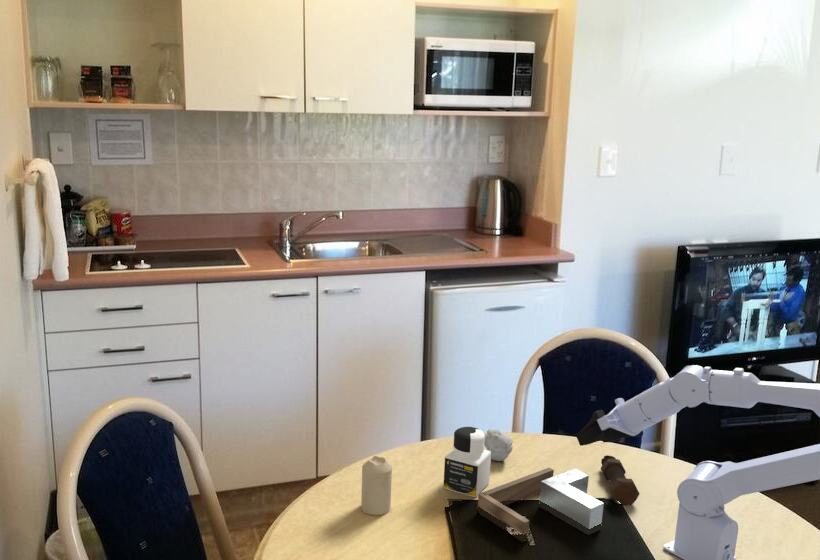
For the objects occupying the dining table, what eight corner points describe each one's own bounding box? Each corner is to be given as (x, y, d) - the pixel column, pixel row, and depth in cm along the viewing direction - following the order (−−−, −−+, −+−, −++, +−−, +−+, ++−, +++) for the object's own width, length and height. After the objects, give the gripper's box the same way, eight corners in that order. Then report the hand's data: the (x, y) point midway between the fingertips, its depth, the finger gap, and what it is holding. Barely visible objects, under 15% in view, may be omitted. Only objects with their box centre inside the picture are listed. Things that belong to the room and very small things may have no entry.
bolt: (610, 477, 164) (627, 512, 150) (590, 465, 164) (605, 499, 149) (626, 456, 163) (644, 488, 149) (606, 444, 163) (622, 475, 148)
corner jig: (594, 511, 147) (596, 492, 146) (523, 543, 135) (524, 522, 134) (547, 485, 156) (549, 467, 155) (477, 513, 145) (478, 493, 144)
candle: (364, 517, 142) (365, 467, 139) (358, 502, 147) (359, 454, 145) (393, 514, 143) (395, 464, 141) (386, 499, 148) (388, 451, 146)
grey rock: (476, 455, 168) (478, 425, 166) (506, 452, 170) (508, 423, 168) (486, 468, 162) (488, 437, 161) (516, 465, 164) (519, 434, 163)
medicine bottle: (442, 488, 153) (445, 433, 150) (457, 474, 159) (460, 420, 156) (475, 498, 150) (479, 441, 147) (489, 483, 156) (493, 428, 153)
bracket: (621, 520, 144) (624, 493, 143) (588, 536, 138) (590, 508, 137) (572, 493, 153) (574, 468, 152) (539, 507, 148) (541, 481, 146)
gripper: (659, 386, 142) (603, 417, 150) (617, 388, 132) (559, 421, 140) (677, 421, 139) (618, 451, 147) (635, 426, 129) (575, 457, 137)
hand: (590, 439), depth 143 cm, fingers open, 7 cm apart
